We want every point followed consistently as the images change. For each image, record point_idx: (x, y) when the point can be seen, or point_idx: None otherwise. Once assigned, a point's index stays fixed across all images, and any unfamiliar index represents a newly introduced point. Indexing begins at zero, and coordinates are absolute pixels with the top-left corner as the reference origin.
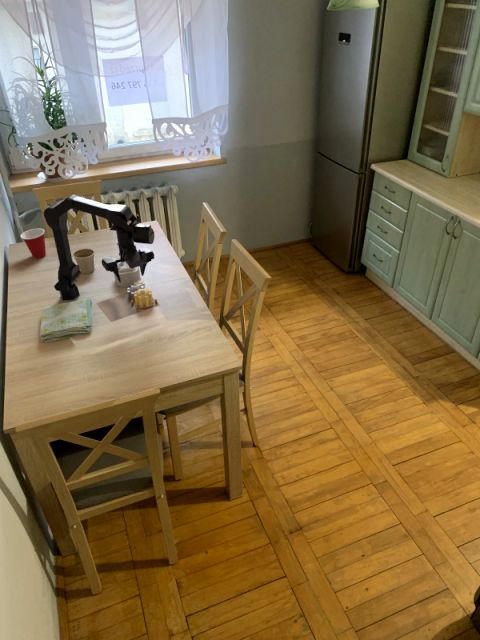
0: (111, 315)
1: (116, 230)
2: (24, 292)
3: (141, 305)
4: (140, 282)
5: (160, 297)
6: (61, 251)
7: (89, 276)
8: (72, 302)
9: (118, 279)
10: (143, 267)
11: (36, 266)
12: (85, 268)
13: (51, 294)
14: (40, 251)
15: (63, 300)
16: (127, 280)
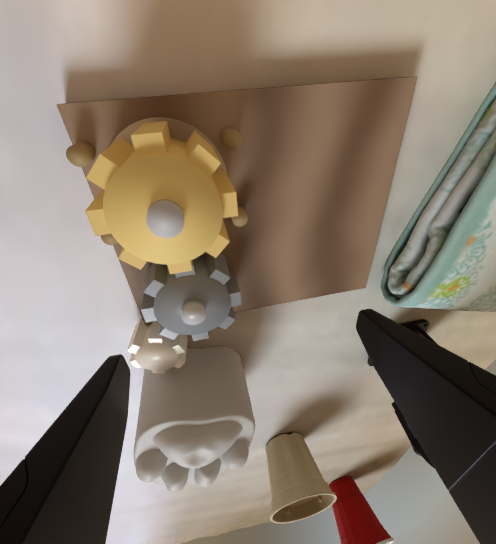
0: (377, 150)
1: None
2: None
3: (200, 137)
4: (150, 355)
5: (56, 227)
6: None
7: (292, 421)
8: (467, 298)
9: (412, 331)
10: (41, 486)
11: (365, 458)
12: (299, 449)
13: None
14: (348, 496)
15: (428, 335)
16: (207, 380)
